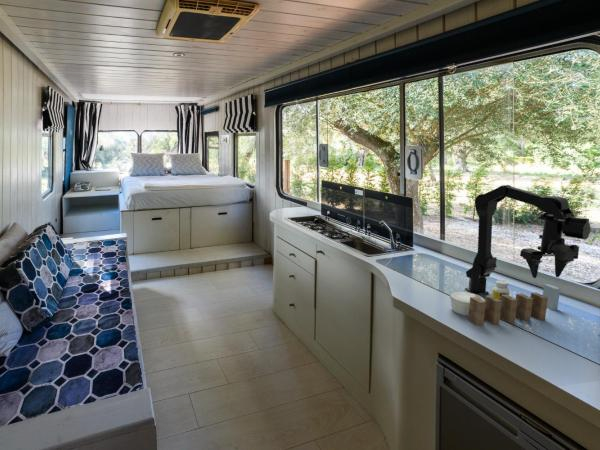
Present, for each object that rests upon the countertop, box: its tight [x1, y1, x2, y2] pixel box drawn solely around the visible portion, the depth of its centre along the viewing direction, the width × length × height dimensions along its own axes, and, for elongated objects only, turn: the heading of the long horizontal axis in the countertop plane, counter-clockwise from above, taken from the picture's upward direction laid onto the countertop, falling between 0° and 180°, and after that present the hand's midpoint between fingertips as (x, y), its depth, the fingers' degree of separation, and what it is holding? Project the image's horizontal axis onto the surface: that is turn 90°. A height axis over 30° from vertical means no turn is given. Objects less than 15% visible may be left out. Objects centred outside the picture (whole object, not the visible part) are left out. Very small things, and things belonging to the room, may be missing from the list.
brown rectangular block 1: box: [515, 293, 533, 322], centre depth 140 cm, size 5×2×8 cm, turn 13°
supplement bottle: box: [491, 279, 510, 300], centre depth 149 cm, size 5×5×10 cm
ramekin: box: [449, 291, 485, 317], centre depth 146 cm, size 11×11×5 cm
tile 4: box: [484, 295, 502, 325], centre depth 138 cm, size 5×2×8 cm, turn 13°
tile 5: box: [467, 297, 486, 327], centre depth 136 cm, size 5×2×8 cm, turn 13°
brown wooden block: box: [500, 294, 517, 324], centre depth 139 cm, size 5×2×8 cm, turn 13°
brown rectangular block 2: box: [530, 292, 548, 321], centre depth 142 cm, size 5×2×8 cm, turn 13°
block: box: [542, 283, 561, 311], centre depth 151 cm, size 5×2×8 cm, turn 13°
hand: (545, 277), depth 145 cm, fingers open, 9 cm apart
